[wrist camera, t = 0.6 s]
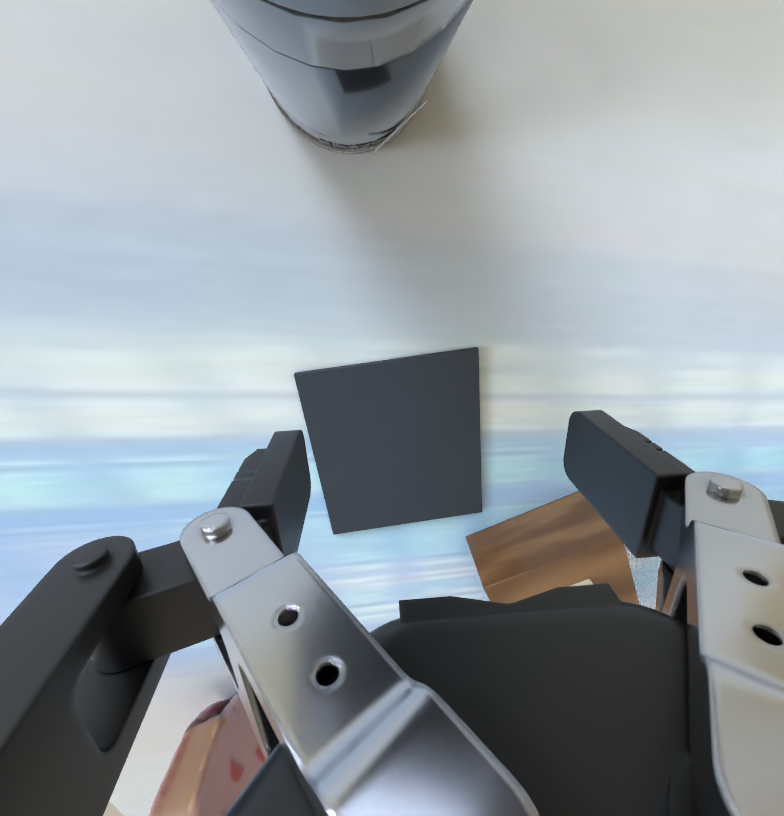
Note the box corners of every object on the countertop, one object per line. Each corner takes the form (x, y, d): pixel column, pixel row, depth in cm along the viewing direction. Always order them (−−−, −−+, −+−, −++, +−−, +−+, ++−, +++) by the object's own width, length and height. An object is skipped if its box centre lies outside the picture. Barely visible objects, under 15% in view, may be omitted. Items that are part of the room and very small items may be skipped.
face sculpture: (316, 746, 52) (301, 956, 37) (270, 760, 53) (237, 973, 38) (236, 666, 44) (174, 898, 29) (182, 685, 44) (94, 921, 29)
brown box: (465, 536, 38) (483, 588, 33) (583, 489, 37) (622, 535, 31) (502, 607, 43) (522, 663, 38) (606, 568, 42) (643, 620, 36)
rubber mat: (294, 372, 29) (293, 374, 29) (476, 347, 30) (478, 348, 29) (333, 531, 36) (333, 534, 36) (480, 509, 37) (481, 512, 36)
